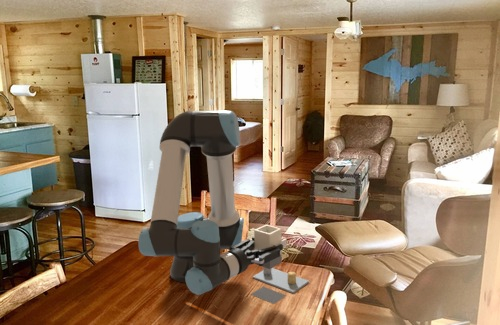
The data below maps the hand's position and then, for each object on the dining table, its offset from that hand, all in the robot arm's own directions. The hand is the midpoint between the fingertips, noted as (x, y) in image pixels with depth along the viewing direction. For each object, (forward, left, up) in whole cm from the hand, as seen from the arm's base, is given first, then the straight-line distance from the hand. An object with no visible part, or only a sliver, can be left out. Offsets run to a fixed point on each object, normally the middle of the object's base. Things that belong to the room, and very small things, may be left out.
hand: (277, 239), depth 141 cm
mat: (0, -5, -19) cm, 19 cm away
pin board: (-3, +6, -19) cm, 20 cm away
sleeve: (0, -5, -7) cm, 8 cm away
